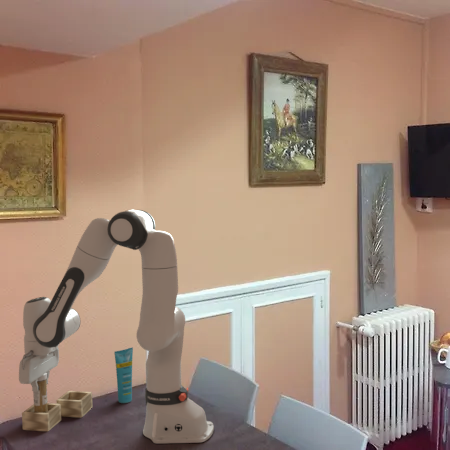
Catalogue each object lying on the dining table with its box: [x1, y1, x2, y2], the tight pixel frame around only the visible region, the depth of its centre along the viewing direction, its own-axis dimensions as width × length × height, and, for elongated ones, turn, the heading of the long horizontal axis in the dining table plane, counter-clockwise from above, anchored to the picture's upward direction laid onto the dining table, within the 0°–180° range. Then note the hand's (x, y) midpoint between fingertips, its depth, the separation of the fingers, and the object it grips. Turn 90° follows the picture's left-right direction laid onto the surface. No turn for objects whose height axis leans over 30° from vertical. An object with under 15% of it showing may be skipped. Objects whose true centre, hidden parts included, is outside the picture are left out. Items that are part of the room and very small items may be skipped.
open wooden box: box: [56, 390, 93, 419], centre depth 205 cm, size 9×9×6 cm
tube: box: [113, 347, 134, 404], centre depth 214 cm, size 7×5×19 cm, turn 134°
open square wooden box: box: [21, 402, 62, 432], centre depth 195 cm, size 9×9×6 cm
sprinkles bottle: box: [32, 373, 49, 413], centre depth 194 cm, size 5×5×14 cm
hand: (40, 388), depth 194 cm, fingers closed on sprinkles bottle, 4 cm apart
